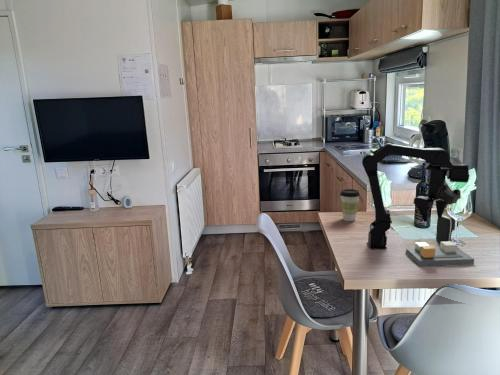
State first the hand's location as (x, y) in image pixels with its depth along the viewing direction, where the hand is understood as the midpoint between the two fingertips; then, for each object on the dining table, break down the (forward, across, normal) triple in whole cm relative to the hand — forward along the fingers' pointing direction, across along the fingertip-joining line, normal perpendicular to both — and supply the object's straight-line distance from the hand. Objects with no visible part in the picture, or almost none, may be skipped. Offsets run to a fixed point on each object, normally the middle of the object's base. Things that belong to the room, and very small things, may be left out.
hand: (432, 219), depth 148 cm
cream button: (+12, +2, -6) cm, 13 cm away
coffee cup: (+14, +4, +48) cm, 50 cm away
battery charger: (+13, +14, +2) cm, 19 cm away
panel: (+13, -4, -6) cm, 15 cm away
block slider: (+11, -11, -6) cm, 16 cm away
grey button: (+12, -7, -1) cm, 14 cm away
